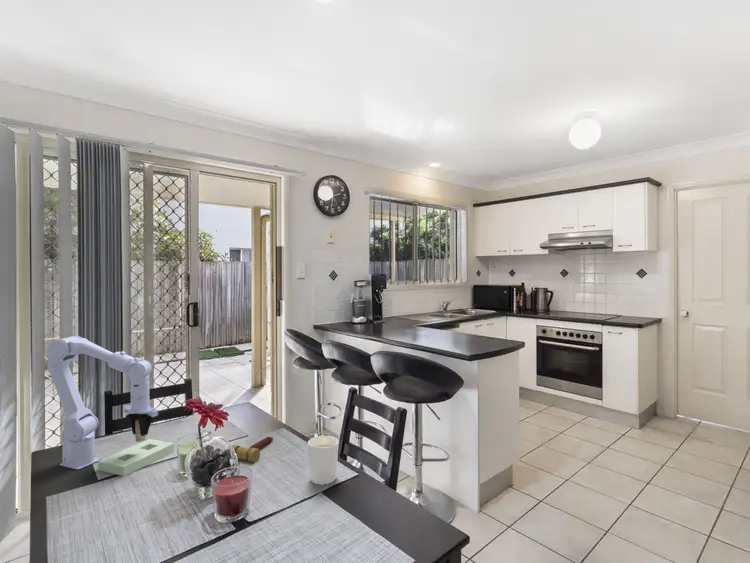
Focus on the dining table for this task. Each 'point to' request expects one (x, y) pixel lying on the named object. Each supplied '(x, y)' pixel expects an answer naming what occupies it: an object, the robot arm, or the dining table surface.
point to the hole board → (135, 457)
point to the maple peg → (138, 432)
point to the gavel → (251, 450)
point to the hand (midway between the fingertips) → (140, 434)
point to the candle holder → (323, 459)
